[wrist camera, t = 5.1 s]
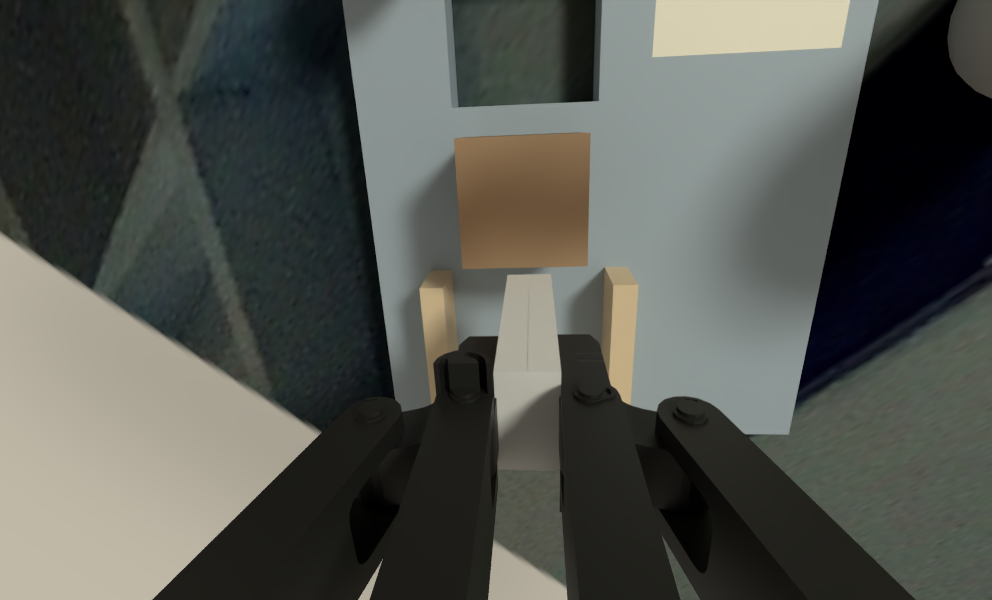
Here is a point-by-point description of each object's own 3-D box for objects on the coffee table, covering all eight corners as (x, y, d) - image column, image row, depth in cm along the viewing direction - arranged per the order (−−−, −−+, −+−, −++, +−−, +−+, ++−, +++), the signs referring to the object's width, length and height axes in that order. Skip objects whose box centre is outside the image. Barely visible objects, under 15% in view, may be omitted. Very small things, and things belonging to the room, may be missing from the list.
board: (341, -134, 19) (287, -205, 15) (881, -180, 18) (992, -273, 13) (408, 410, 28) (386, 463, 24) (770, 411, 26) (815, 468, 22)
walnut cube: (469, 136, 20) (453, 138, 16) (578, 132, 20) (590, 132, 16) (475, 242, 22) (462, 268, 18) (576, 239, 22) (587, 266, 17)
